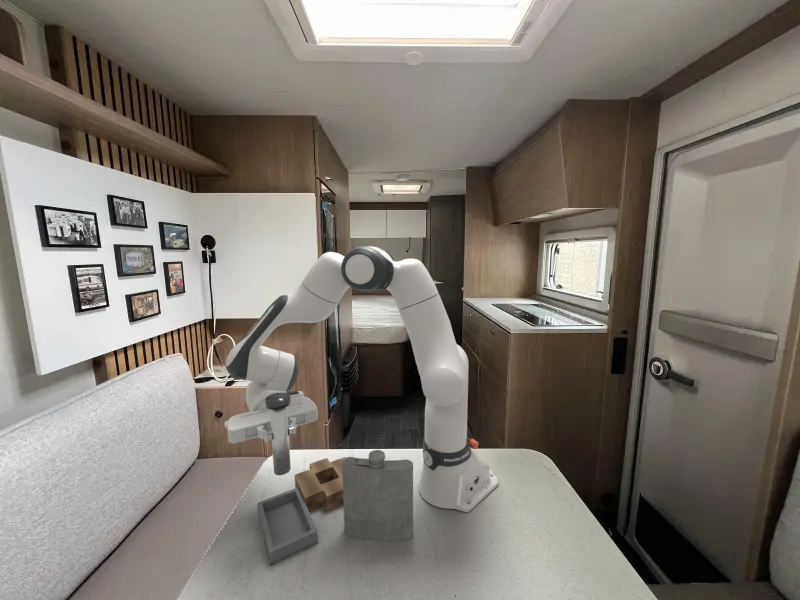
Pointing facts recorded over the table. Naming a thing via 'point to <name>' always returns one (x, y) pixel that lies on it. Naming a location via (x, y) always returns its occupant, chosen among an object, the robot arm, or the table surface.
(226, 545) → the table surface
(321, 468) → the block
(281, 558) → the tray
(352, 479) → the hip flask
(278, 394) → the steel pin
